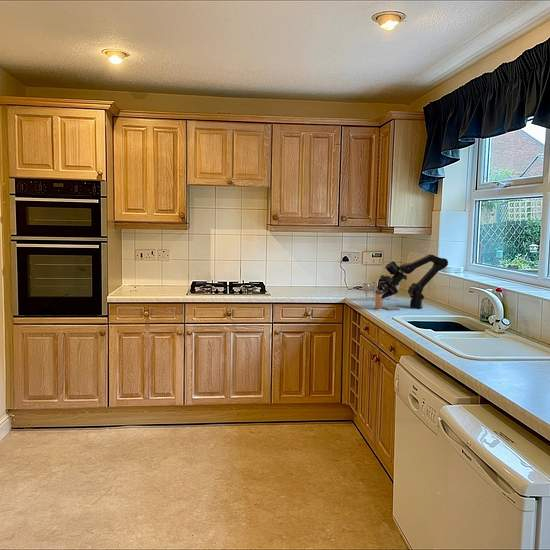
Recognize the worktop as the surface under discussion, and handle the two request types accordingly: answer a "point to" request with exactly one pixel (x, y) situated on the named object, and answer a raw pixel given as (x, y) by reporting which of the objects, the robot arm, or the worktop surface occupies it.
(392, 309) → the slate board
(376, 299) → the spice jar
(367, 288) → the goblet set
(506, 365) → the worktop surface
